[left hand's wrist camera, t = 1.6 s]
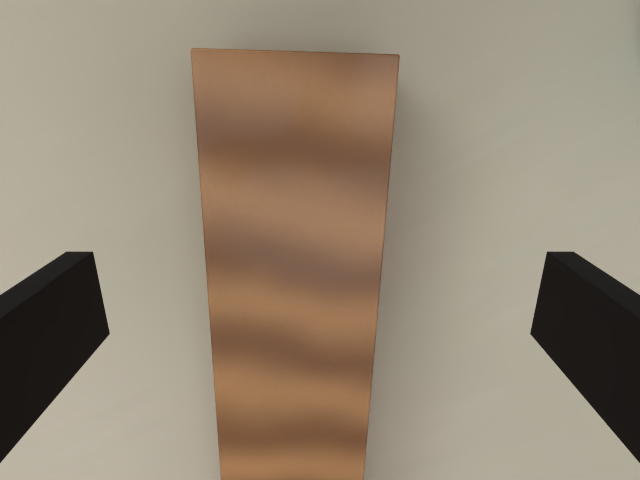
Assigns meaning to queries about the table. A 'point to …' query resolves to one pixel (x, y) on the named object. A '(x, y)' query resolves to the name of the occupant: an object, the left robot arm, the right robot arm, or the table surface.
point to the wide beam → (293, 252)
